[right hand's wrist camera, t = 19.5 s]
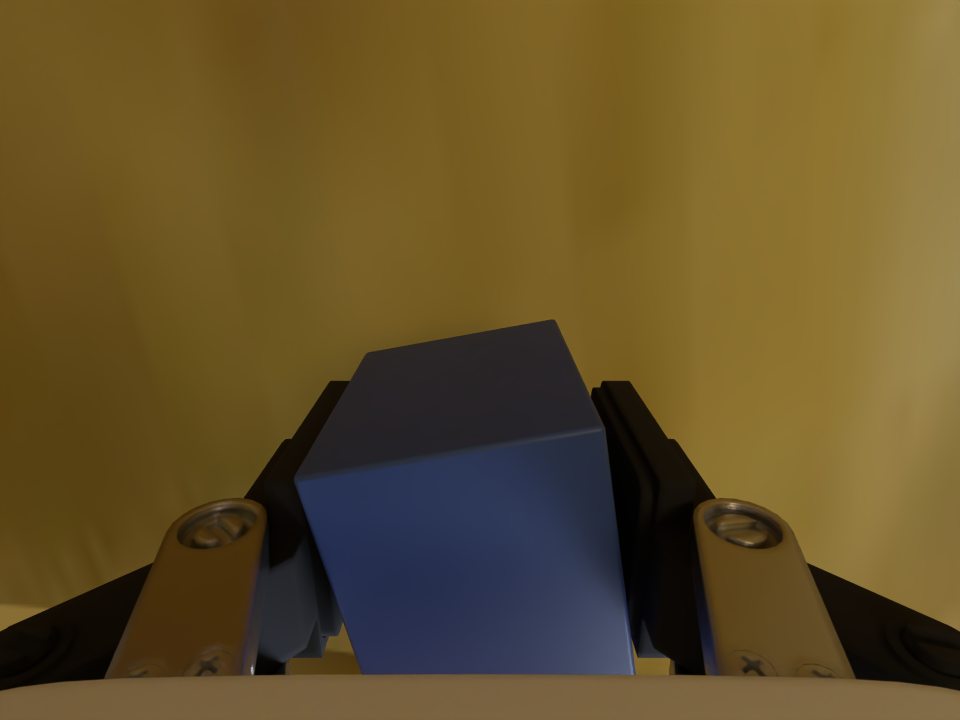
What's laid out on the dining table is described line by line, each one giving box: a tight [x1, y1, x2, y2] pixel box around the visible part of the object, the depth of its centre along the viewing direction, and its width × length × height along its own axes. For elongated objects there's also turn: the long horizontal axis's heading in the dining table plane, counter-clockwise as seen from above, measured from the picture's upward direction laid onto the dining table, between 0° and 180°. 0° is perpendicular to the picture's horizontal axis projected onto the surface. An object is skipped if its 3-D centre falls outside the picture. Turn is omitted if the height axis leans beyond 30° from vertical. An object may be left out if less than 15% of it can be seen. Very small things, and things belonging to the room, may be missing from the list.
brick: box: [294, 320, 636, 675], centre depth 10 cm, size 5×4×5 cm
